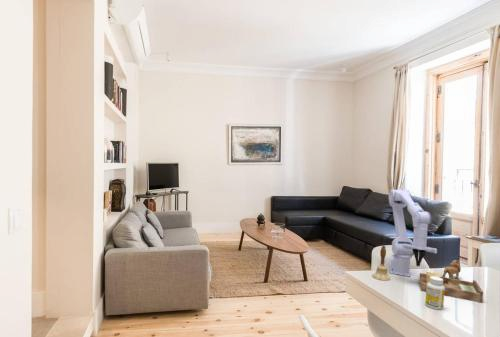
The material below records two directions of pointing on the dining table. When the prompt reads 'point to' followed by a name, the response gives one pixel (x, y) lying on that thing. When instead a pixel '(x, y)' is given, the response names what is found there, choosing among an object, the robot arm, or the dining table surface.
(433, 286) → the supplement bottle
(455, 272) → the lion figurine
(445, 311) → the dining table surface
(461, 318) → the dining table surface
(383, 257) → the hand bell
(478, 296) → the walnut lane
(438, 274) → the ochre block
